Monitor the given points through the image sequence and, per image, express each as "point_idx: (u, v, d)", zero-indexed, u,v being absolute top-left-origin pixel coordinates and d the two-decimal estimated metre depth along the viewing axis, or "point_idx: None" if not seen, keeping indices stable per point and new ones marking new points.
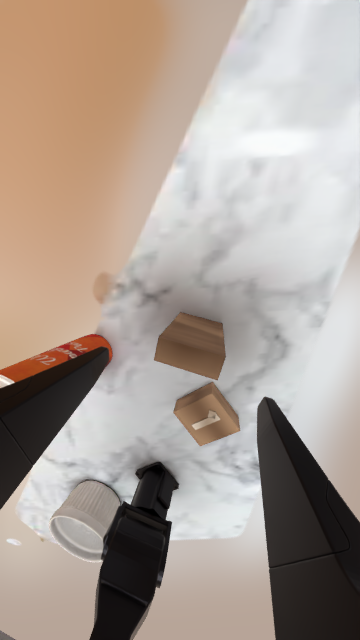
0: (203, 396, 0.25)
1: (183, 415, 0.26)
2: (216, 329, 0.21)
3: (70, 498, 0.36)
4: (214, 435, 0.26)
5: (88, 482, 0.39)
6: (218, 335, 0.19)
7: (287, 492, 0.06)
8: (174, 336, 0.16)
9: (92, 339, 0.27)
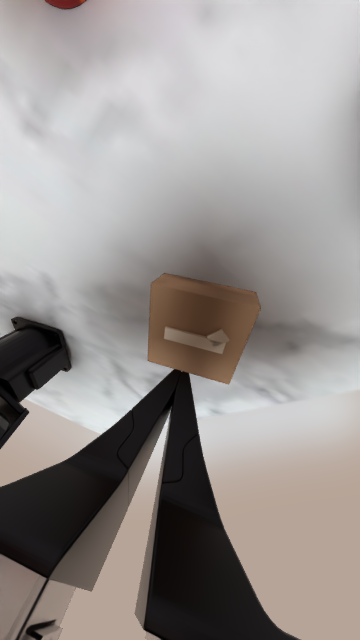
0: (235, 301, 0.11)
1: (165, 303, 0.12)
2: None
3: None
4: (185, 364, 0.14)
5: None
6: None
7: (165, 446, 0.07)
8: None
9: None
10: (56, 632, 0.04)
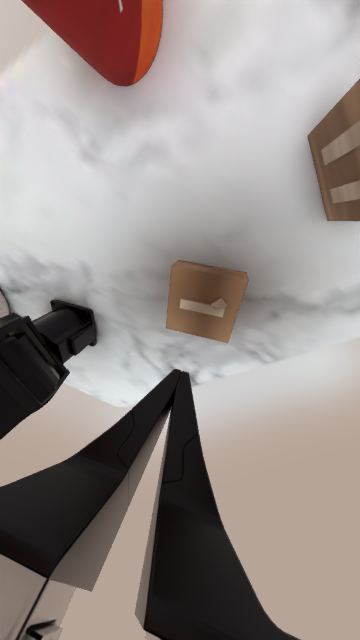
0: (230, 276, 0.16)
1: (181, 280, 0.17)
2: None
3: None
4: (194, 329, 0.19)
5: None
6: None
7: (165, 446, 0.07)
8: None
9: None
10: (56, 632, 0.04)
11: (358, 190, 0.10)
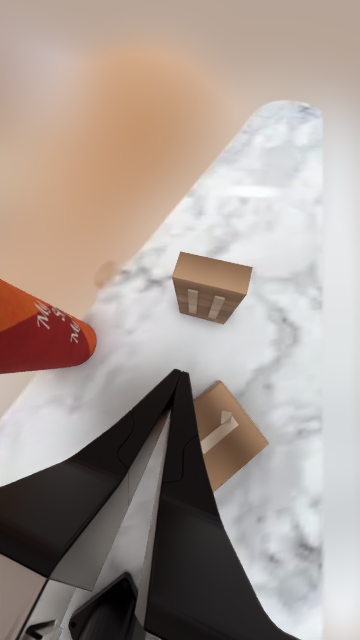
0: (211, 391, 0.19)
1: None
2: None
3: None
4: (234, 461, 0.17)
5: None
6: None
7: (165, 446, 0.07)
8: None
9: None
10: (56, 632, 0.04)
11: (214, 310, 0.19)
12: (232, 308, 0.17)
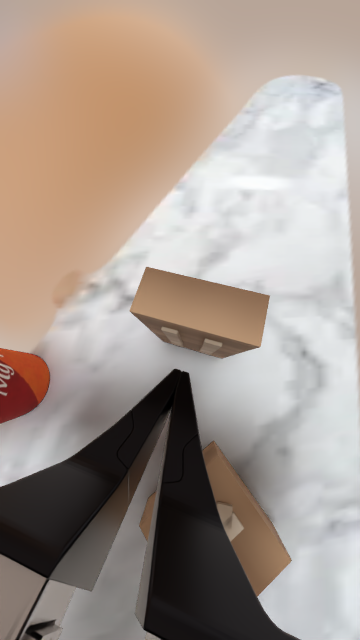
0: None
1: None
2: None
3: None
4: None
5: None
6: None
7: (165, 446, 0.07)
8: None
9: (21, 353, 0.16)
10: (56, 632, 0.04)
11: (207, 350, 0.12)
12: (233, 352, 0.11)
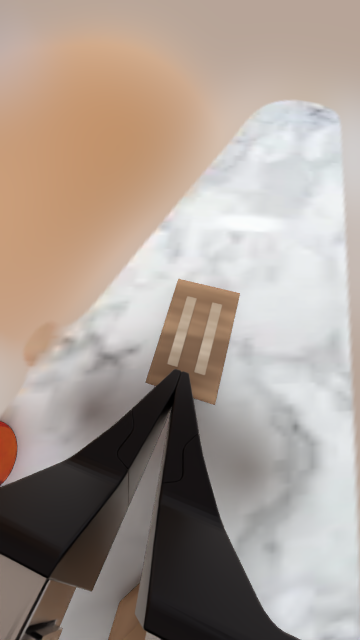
0: None
1: None
2: None
3: None
4: None
5: None
6: None
7: (165, 446, 0.07)
8: None
9: None
10: (56, 632, 0.04)
11: (208, 339, 0.15)
12: (228, 329, 0.16)
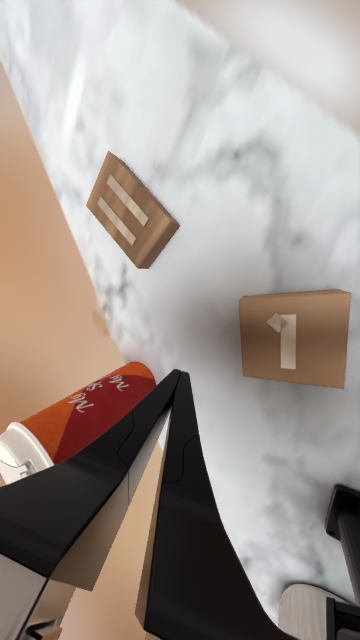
0: (240, 317, 0.15)
1: (256, 366, 0.15)
2: None
3: None
4: (332, 346, 0.13)
5: (287, 590, 0.22)
6: None
7: (165, 446, 0.07)
8: None
9: (119, 368, 0.25)
10: (56, 632, 0.04)
11: (128, 201, 0.18)
12: (128, 178, 0.17)
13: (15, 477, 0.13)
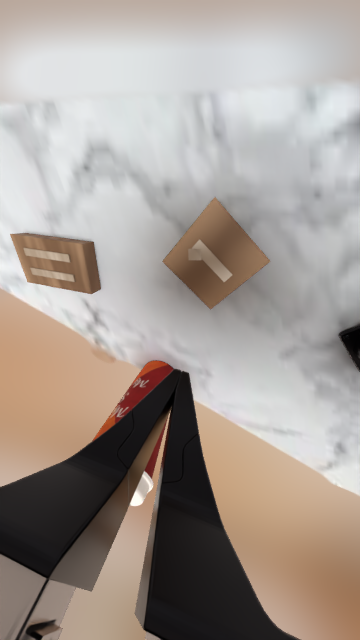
0: (173, 272, 0.18)
1: (211, 295, 0.18)
2: None
3: None
4: (238, 240, 0.15)
5: None
6: None
7: (165, 446, 0.07)
8: None
9: None
10: (56, 632, 0.04)
11: (47, 255, 0.21)
12: (35, 240, 0.21)
13: None
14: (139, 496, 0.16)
